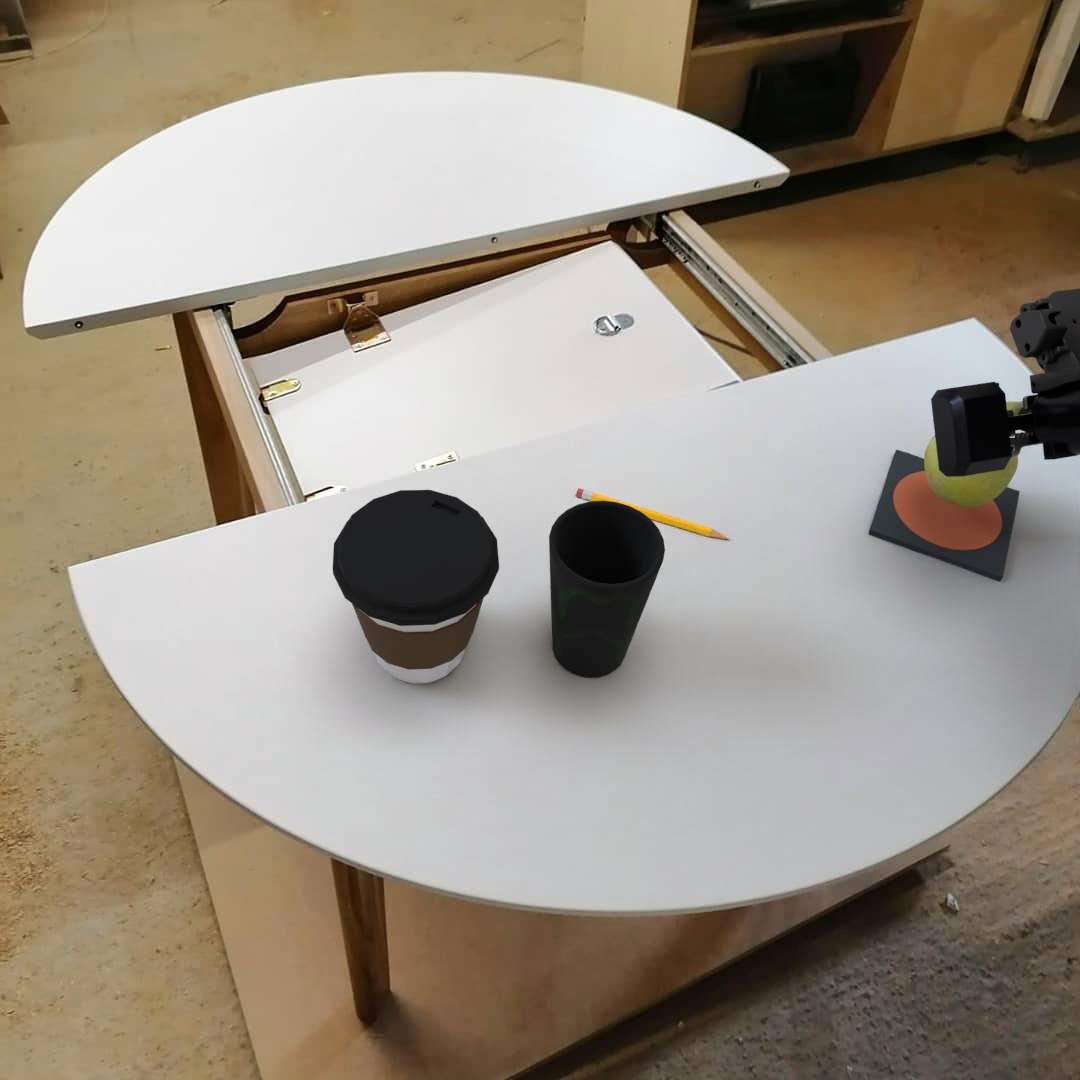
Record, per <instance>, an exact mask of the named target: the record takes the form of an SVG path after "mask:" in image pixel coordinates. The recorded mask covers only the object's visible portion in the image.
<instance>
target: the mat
mask: <svg viewBox="0 0 1080 1080" xmlns="http://www.w3.org/2000/svg"><path fill="white" fill-rule="evenodd" d="M894 451H895V452H894V454H893V456H892V461H891V463H890V466H889V469H888V472H887V475H886V478H885V481H884V484H883V488H882V491H881V494H880V496H879V500H878V502H877V506H876V509H875V512H874V515H873V518H872V521H871V524H870V527H869V530H868V532H867V533H868V535H870V536H873V537H875V538H878V539H881V540H884V541H887V542H889V543H892V544H895V545H897V546H901V547H903V548H906V549H909V550H912V551H914V552H917V553H919V554H923V555H925V556H927V557H931V558H933V559H937V560H940V561H942V562H945V563H947V564H951V565H953V566H955V567H959V568H961V569H964V570H967V571H969V572H970V571H971V572H972V573H976V574H978V575H981V576H984V577H986V578H989V579H992V580H995V581H998V582H1001V581H1002V579H1003V578H1004V573H1005V569H1006V563H1007V558H1008V553H1009V548H1010V542H1011V538H1012V532H1013V527H1014V522H1015V518H1016V512H1017V508H1018V502H1019V499H1020V498H1019V497H1020V492H1021V491H1020V490H1017V489H1015V488H1012V487H1009V486H1007V487H1006V488H1005V489H1004V490H1003V491H1002V492H1001V493H1000V494H999V495H998V496H997V497H996V498H995V499H993V500H992V501H990V502H988V503H986V504H984V505H981V506H977V507H961V506H958V505H954V504H951V503H948V502H946V501H944V500H943V499H941V498H940V497H938V496H937V495H936V494H935V492H934V491H933V490H932V488H931V487H930V485H929V483H928V480H927V477H926V473H925V467H924V458H923V457H921V456H918V455H915V454H911V453H909V452H905V451H903V450H899V449H895V450H894Z"/></svg>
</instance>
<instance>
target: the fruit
mask: <svg viewBox="0 0 1080 1080" xmlns="http://www.w3.org/2000/svg"><path fill="white" fill-rule="evenodd" d="M1006 406H1007V410H1013V413H1014V416H1016V415H1018V413H1019V411H1020V410H1021V409H1022V408H1023V400H1020V401H1006ZM1018 456H1019V455H1018ZM1018 456H1017V457H1015V458H1011V459H1010V460H1009V462H1008V464H1007V466H1006V467H1005V469H1004V470H998V471H992V472H986V473H980V474H974V475H968V476H958V477H946V476H945V475H944V474H943V473H942V472H941V471H939V465H938V457H937V448H936V439H935V434H934V435H933V436H932V437H931V439H930V440H929V441H928V444H927V446H926V448H925V452H924V467H925V473H926V477H927V480H928V483H929V485H930V487H931V488H932V490H933V491H934V492H935V494H936V495H937V496H938V497H940V498H941V499H943V500H944V501H946V502H948V503H951V504H954V505H958V506H961V507H977V506H981V505H984V504H986V503H988V502H990V501H992V500H993V499H995V498H996V497H997V496H998V495H999V494H1000V493H1001V492H1002V491H1003V490H1004V489H1005V488H1006V487H1009V485H1010V483H1011V481H1012V480H1013V478H1014V476H1015V474H1016V472H1017V471H1018V465H1019V457H1018Z"/></svg>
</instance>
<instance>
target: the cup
mask: <svg viewBox="0 0 1080 1080" xmlns="http://www.w3.org/2000/svg"><path fill="white" fill-rule="evenodd" d="M548 545H549V547H548V548H549V553H548V554H549V582H550V585H549V586H550V589H549V590H550V617H551V618H550V619H551V620H550V621H551V650H552V654H553V657H554V658H555V660H556V661H557V663H558V664H559V665H560V666H561V667H562V668H563V669H564V670H565V671H567V672H568V673H570V674H572V675H575V676H578V677H581V678H586V679H595V678H596V679H597V678H602V677H606V676H608V675H610V674H612V673H613V672H615V671H616V670H618V668H619V667H621V665H622V663H623V661H624V660H625V659H626V658H625V657H626V655H627V653H628V650H629V647H630V645H631V642H632V640H633V637H634V635H635V632H636V630H637V627H638V625H639V622H640V620H641V617H642V615H643V612H644V610H645V607H646V605H647V602H648V600H649V597H650V594H651V592H652V590H653V587H654V584H655V583H656V579H657V578H658V575H659V572H660V570H661V567H662V564H663V562H664V558H665V552H666V546H665V540H664V537H663V535H662V532H661V531H660V529H659V527H658V526H657V525H656V523H655V522H654V520H652V519H650V518H648V517H647V516H646V515H645V514H643V513H642V512H640V511H638V510H636V509H635V508H633V507H631V506H628V505H625V504H621V503H618V502H611V501H586V502H582V503H579V504H576V505H574V506H572V507H570V508H568V509H565V511H564V512H562V513H561V514H560V515H559V516H558V517H557V518H556V519H555V520H554V522H553V524H552V526H551V528H550V532H549V535H548Z"/></svg>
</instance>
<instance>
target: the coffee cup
mask: <svg viewBox="0 0 1080 1080" xmlns="http://www.w3.org/2000/svg"><path fill="white" fill-rule="evenodd" d="M332 553H333V554H332V575H333V577H334V579H335V581H336V583H337V585H338V587H339V589H340V592H341V593H342V595H343V598H344V599H345V600H347V601H348V602H349V603H350V604H351V605H352V607H353V610H354V612H355V615H356V617H357V620H358V622H359V625H360V628H361V631H362V632H363V635H364V637H365V639H366V642H367V643H368V646H369V648H370V649H371V651H372V652H373V654H374V656H375V658H376V660H377V662H378V664H379V666H380V667H381V668H382V669H383V670H385V671H386V672H387V673H388V674H390V676H392V677H394V678H395V679H396V680H398V681H402V682H405V683H409V684H411V685H416V684H419V685H420V684H431V683H434V682H436V681H438V680H441V679H443V678H445V677H446V676H447V675H449V674H450V673H451V672H452V671H453V670H454V669H455V668H456V667H457V666H459V664H460V663H461V661H462V659H463V656H464V654H465V652H466V650H467V647H468V645H469V643H470V641H471V638H472V636H473V634H474V631H475V628H476V625H477V621H478V618H479V615H480V611H481V608H482V605H483V602H484V598H485V597H486V596H487V595H488V594H489V593H490V590H491V588H492V586H493V584H494V582H495V580H496V577H497V574H498V573H499V569H500V559H499V545H498V539H497V537H496V535H495V533H494V532H493V530H492V529H491V527H490V525H488V523H487V521H486V520H485V518H484V517H483V516H482V515H481V514H480V512H479V511H478V510H477V509H475V508H473V507H472V506H471V505H469V504H468V503H466V502H465V501H463V500H462V499H460V498H459V497H457V496H454V495H451V494H446V493H444V492H438V491H436V490H432V489H402V490H401V489H400V490H397V491H394V492H391V493H387V494H385V495H381V496H378V497H376V498H372V499H371V500H370V501H368V502H367V503H366V504H364V505H363V506H361V507H360V508H359V509H358V510H356V511H355V512H354V513H351V515H350V516H349V519H347V521H346V523H345V524H344V526H343V528H342V529H341V531H340V532H339V534H338V536H337V537H336V539H335V541H334V543H333V552H332Z"/></svg>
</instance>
